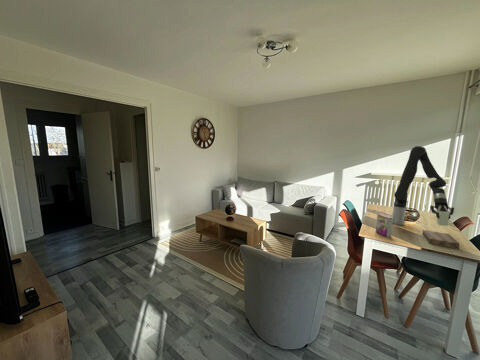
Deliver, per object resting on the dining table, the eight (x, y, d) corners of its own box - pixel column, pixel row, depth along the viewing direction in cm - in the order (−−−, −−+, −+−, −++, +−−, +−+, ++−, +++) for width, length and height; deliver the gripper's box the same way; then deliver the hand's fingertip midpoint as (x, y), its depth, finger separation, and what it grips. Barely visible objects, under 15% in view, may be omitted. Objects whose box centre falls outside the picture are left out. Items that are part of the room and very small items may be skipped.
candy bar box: (375, 232, 178) (377, 213, 175) (380, 231, 179) (382, 213, 176) (386, 237, 167) (388, 218, 164) (391, 237, 168) (393, 217, 165)
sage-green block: (438, 225, 158) (440, 212, 156) (436, 223, 162) (438, 210, 161) (447, 226, 155) (449, 213, 154) (445, 224, 159) (446, 211, 158)
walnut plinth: (429, 243, 156) (430, 238, 155) (422, 234, 173) (423, 230, 172) (458, 248, 148) (459, 243, 147) (448, 238, 165) (448, 233, 165)
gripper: (429, 196, 166) (432, 214, 157) (454, 198, 159) (458, 217, 150) (427, 201, 171) (429, 219, 162) (450, 203, 164) (454, 222, 155)
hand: (443, 218), depth 156 cm, fingers closed on sage-green block, 5 cm apart
